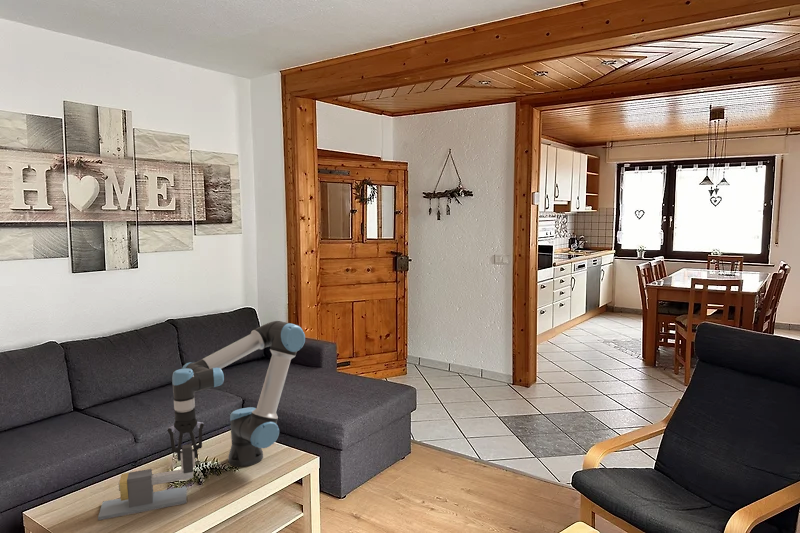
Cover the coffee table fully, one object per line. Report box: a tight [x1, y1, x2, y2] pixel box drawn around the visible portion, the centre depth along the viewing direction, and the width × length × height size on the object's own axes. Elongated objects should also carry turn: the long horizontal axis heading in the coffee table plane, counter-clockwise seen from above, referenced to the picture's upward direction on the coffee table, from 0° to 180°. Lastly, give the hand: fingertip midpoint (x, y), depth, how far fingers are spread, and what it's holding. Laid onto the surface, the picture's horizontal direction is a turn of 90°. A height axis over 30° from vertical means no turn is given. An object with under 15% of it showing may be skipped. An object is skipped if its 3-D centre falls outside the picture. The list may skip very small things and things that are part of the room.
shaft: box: [118, 443, 194, 492], centre depth 210 cm, size 26×4×12 cm, turn 111°
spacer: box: [118, 472, 130, 501], centre depth 207 cm, size 2×7×7 cm, turn 21°
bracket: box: [97, 468, 188, 521], centre depth 209 cm, size 30×12×12 cm, turn 111°
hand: (188, 466), depth 215 cm, fingers closed on shaft, 3 cm apart
